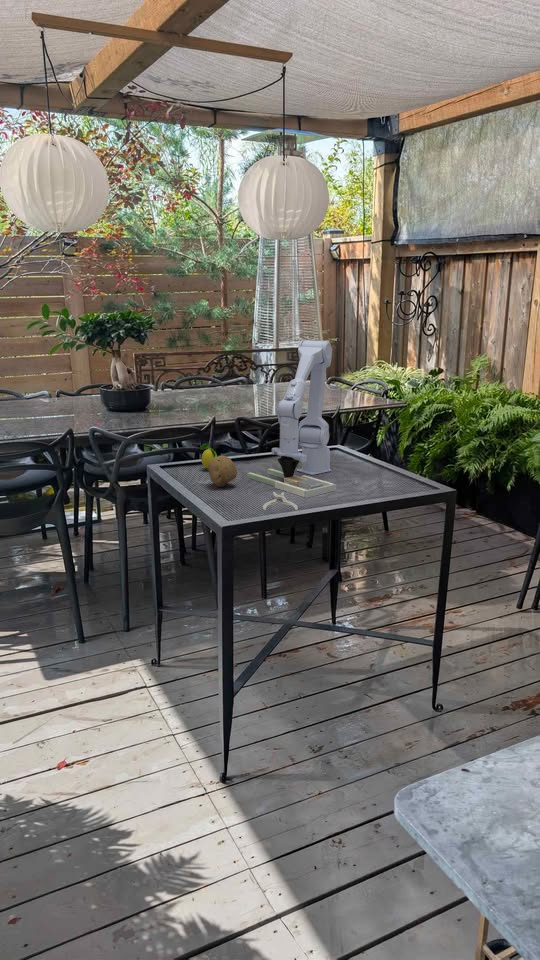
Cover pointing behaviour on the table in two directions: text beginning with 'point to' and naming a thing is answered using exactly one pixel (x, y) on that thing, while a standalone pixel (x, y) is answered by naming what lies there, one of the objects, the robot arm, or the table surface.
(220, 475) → the brown potato
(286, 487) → the tray
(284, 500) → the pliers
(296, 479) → the ash block
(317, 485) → the aluminium block
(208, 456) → the lemon
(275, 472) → the slot rails
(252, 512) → the table surface
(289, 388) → the robot arm
